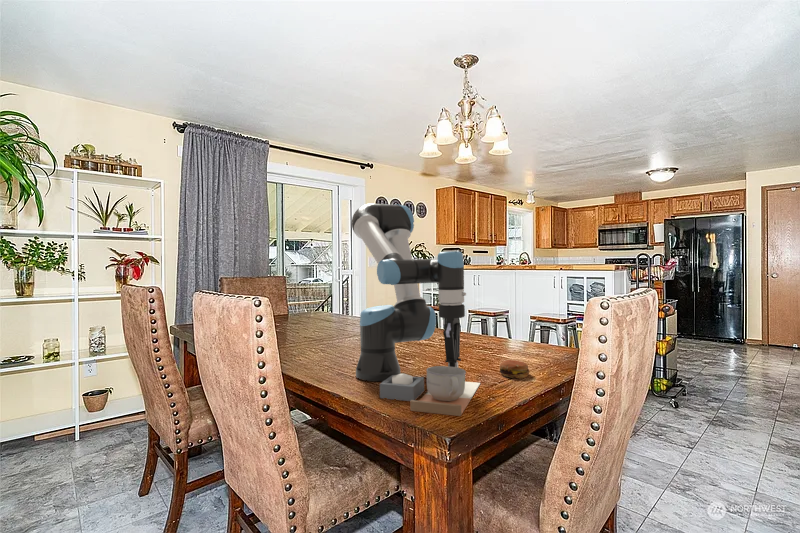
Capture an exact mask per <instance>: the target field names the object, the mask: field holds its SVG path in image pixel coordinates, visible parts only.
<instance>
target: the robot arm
mask: <svg viewBox="0 0 800 533" xmlns="http://www.w3.org/2000/svg"><path fill="white" fill-rule="evenodd" d="M414 223H415V219H414V214H413V212H412V210H411V209H410V208H409V207H408V206H406V205H404V204H403V205H402V204H398V203H395V204H389V203H388V204H386V203H374V202H373V203H372V202H371V203H366V204H364V205H361V206H360V207H359V208H357V209H356V211H355V212H354V213H353V215H352V217H351V229H352V231H353V233H354V234H355V235H356V237H357V238H359V239H361V240H362V241H363V243H364V245H365V246H366V247H367V249H368V251H369V252H370V253H371V256H372V257H373V258H374V260H375V261H376V263H377V266H376V275H377V280H378V282H379V283H380V284H382V285H391V286H394V292H395V298H396V302H395V304H394V305H393V304H384V305H382V304H381V305H377V306H371V307H367V308H364V309H363V310H362V311H361V312H360V315H359V316H360V317H359V328H360V330H359V331H360V332H359V334H360V336H359V337H360V338H359V339H360V355H359V358H358V360H357V365H356V368H355V377H356V378H357V379H358V378H359V380H361V379H362V381H366V380H367V381H368V382H383V381H384V380H386V379H387V378H389V377H390V376H392V375H398V374H401V373H402V372H401V367H400V364H399V360H398V357H397V354H396V344H397V343H407V342H414V341H415V342H420V341H422V340H423V341H425V340H429V339H430V338H431V337H432V336H433V335H434V332H435V330H436V325H437V315H436V312H435V310H434V309H433V307H431V306H429V305H427V301H426V299H425V298H423V297H422V296H421V294H420V288H419V284H437V285H438V303H439V306H438V316H439V317H440V318H441V319H445V324H444V326H443V328H444V330H443V331H442V334H443V338H444V339H443V340H444V349H445V350H444V351H445V363H447V366H450V367H457V368H459V362H461V361H462V358H460V356H461V354H460V350H461V347H460V346H461V344H460V342H461V327H462V326H461V323H460V322H459V319H462V318H464V317H465V316H466V315H465V314H466V313H465V312H466V311H465V305H464V303H465V296H467V293H466V292H465V264H464V255H463V253H462V252H461V251H459V250H458V251H457V250H456V251H455V250H454V251H440V252H439V253H438V254H437V258H419V259H417V258H415V259H414V258H413V257H412V252H411V247H410V243H409V238H410V237H411V234H412V233H413V231H414V226H415V224H414Z"/></svg>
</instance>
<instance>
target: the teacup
mask: <svg viewBox="0 0 800 533" xmlns="http://www.w3.org/2000/svg"><path fill="white" fill-rule="evenodd" d="M466 372H467V371H466V370H465V369H464V368H461V367H458V368H457V367H450V366H448V365H447V366H446V365H435V366H429V367H427V368H426V389H427V392H429V393H430V394H431V395H432V396H433V398H435V399H437V400H441V401H454V400H457V399H458V398H459V397H460V396H461V395H462V394H463V393H464V389H465V382H466V374H467V373H466Z"/></svg>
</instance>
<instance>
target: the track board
mask: <svg viewBox="0 0 800 533" xmlns="http://www.w3.org/2000/svg"><path fill="white" fill-rule="evenodd" d="M480 385H481V382H475V381H465V389H464V393H463V394H462V395H461V396H460V397H459V398H458V399H457V400H454V401H441V400H437V399H435V398H433V396H432V395H431V394H430V393H429V392H428V391H427V392H426V393H424V394H423V396H422V397H421V398H420V399H418V400H417V399H416V400H411V401H409V402H410V404H409V406H410V411H412V412H420V413H421V412H422V413H428V414H429V413H430V414H439V415H447V416H457V417H458V416H459V417H461V416H462V414H463V413H464V411H465V409H466V408H467V406H468V405H469V403H470V401H471V400H472V398H473V396H474V395H475V394H476V391H477V390H478V389H479V387H480Z"/></svg>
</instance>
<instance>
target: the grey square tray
mask: <svg viewBox="0 0 800 533" xmlns="http://www.w3.org/2000/svg"><path fill="white" fill-rule="evenodd" d="M392 376H394V375H392ZM392 376H390V377H389V378H387V379H386V380H384V381H381V382H380V383H379V398H380V399H384V398H387V399H386V400H394V399H396V400H395V401H406V402H410V401H411V400H416V401H417V399H418V398H419V397H421V395H422V394H423V393H424V392H425V377H424V376H413V383H412V384H410V385H406V384H394V383H392Z"/></svg>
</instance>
